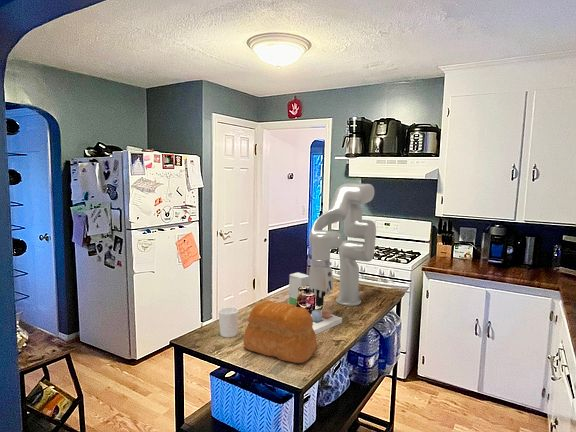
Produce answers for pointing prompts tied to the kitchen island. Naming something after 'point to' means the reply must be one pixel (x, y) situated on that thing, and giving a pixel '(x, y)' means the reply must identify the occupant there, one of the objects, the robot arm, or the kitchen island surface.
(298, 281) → the skincare box
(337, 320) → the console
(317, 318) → the slate button
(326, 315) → the rust button
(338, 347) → the kitchen island surface
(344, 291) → the robot arm
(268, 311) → the bread
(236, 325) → the white cup
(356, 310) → the kitchen island surface
